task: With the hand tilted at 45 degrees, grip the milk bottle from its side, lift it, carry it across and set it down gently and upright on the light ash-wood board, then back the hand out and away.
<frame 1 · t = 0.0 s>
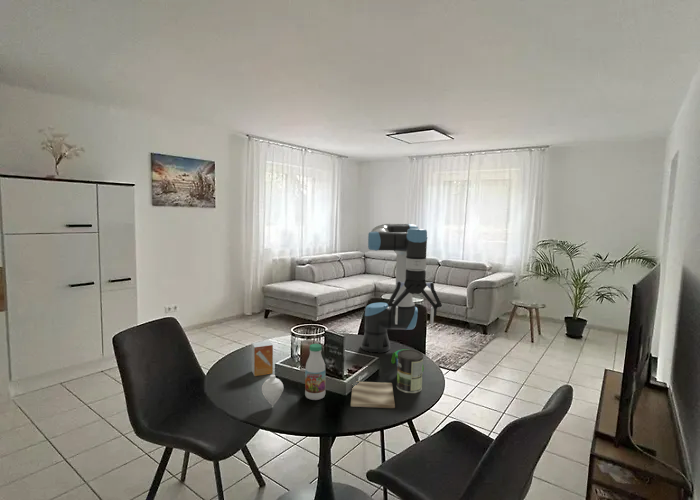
hand: (413, 324, 148), 28 cm above the table, tool pointing down, fingers open, 13 cm apart
coffee can: (409, 388, 156), on the table
small box: (262, 372, 168), on the table
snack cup: (406, 376, 167), on the table
milk bottle: (315, 396, 147), on the table
spinning top: (272, 407, 138), on the table
ash board: (372, 395, 148), on the table
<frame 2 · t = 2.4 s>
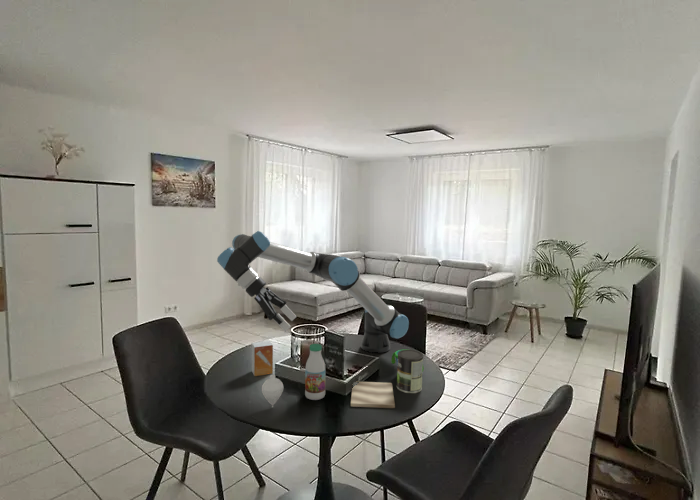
hand: (291, 323, 144), 28 cm above the table, tool tilted 45°, fingers open, 13 cm apart
nothing on the table moved.
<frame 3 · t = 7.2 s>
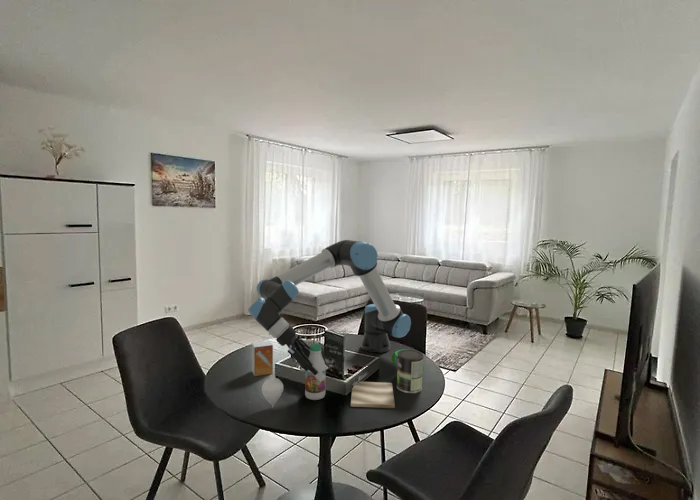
hand: (324, 374, 146), 9 cm above the table, tool tilted 45°, fingers closed on milk bottle, 7 cm apart
milk bottle: (315, 396, 147), on the table, touching gripper
everything else where it was.
when the fingers open (11 cm above the table, at t = 13.4 s): milk bottle drops 2 cm, resting on ash board.
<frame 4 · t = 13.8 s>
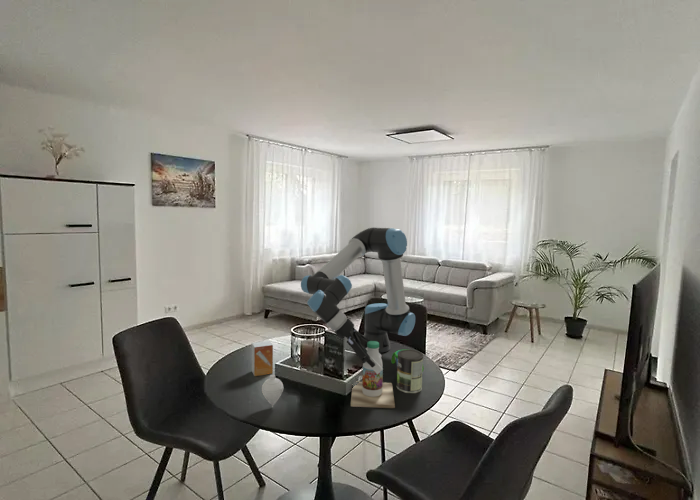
hand: (379, 364, 147), 12 cm above the table, tool tilted 45°, fingers open, 12 cm apart
milk bottle: (372, 393, 148), point 1 cm above the table, touching ash board
everything else where it was.
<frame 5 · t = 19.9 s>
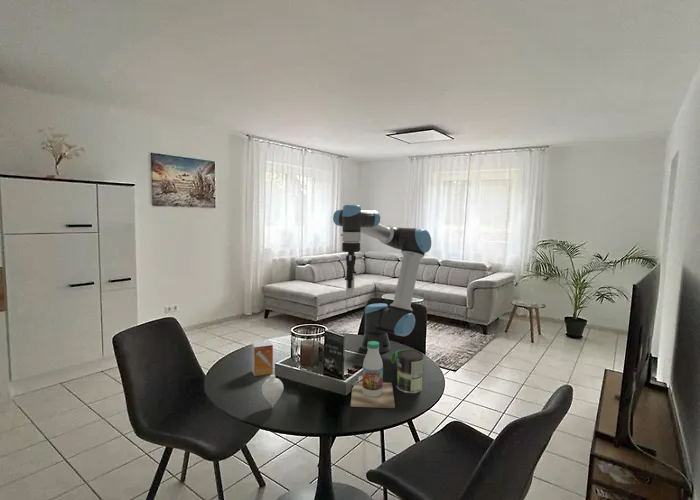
hand: (350, 292, 162), 37 cm above the table, tool pointing down, fingers open, 13 cm apart
nothing on the table moved.
at the end: milk bottle inside the target area on the ash board (0.3 cm from its centre), point 1.0 cm above the ash board's base; milk bottle tilted 0°; the gripper is holding nothing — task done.
